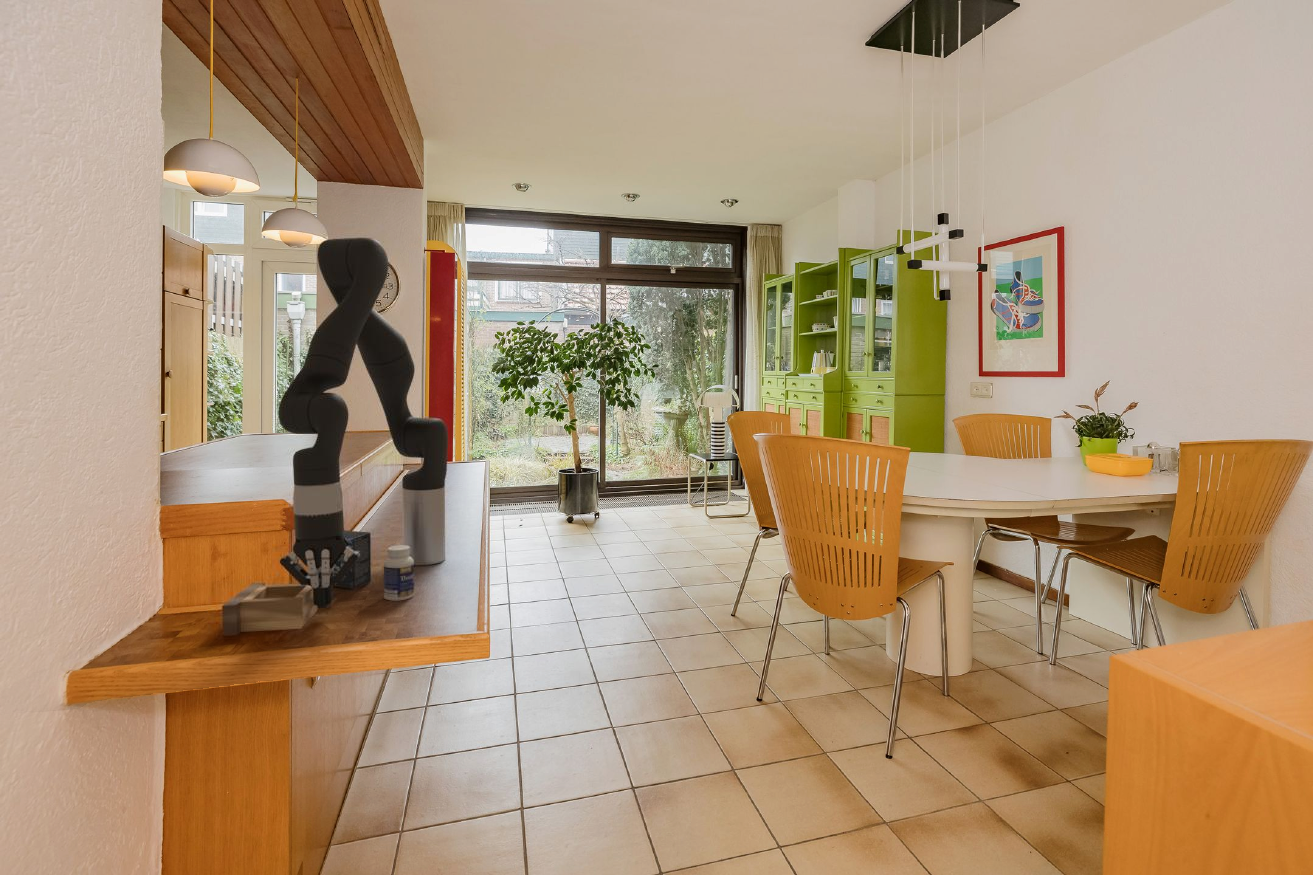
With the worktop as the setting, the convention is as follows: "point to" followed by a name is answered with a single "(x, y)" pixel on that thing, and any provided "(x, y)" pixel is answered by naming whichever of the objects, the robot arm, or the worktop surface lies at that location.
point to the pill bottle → (398, 574)
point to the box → (362, 566)
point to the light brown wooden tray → (277, 607)
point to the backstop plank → (235, 611)
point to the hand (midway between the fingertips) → (323, 606)
